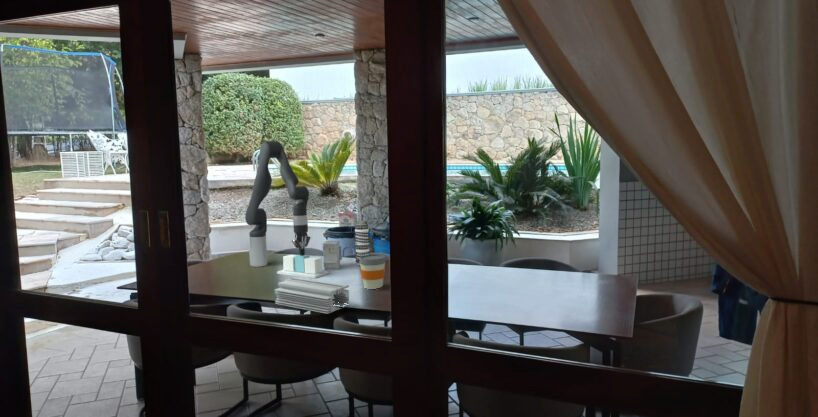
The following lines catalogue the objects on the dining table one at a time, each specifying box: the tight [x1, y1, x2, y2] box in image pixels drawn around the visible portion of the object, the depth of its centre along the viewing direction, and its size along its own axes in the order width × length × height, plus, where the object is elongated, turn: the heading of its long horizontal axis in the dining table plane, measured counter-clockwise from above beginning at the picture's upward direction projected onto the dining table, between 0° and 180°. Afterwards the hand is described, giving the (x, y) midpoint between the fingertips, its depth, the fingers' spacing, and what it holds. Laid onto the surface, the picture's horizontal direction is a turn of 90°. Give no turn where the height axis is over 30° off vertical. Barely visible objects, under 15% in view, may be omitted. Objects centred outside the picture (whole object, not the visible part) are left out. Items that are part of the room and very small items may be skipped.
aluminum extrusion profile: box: [274, 276, 350, 314], centre depth 246 cm, size 14×31×10 cm, turn 57°
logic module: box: [295, 254, 311, 272], centre depth 304 cm, size 6×5×8 cm
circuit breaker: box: [322, 240, 343, 271], centre depth 317 cm, size 8×14×15 cm, turn 174°
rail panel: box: [276, 254, 330, 279], centre depth 304 cm, size 26×12×9 cm, turn 60°
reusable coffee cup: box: [359, 253, 387, 290], centre depth 271 cm, size 13×13×15 cm
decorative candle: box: [353, 219, 371, 266], centre depth 324 cm, size 9×9×25 cm
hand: (302, 255), depth 303 cm, fingers closed
